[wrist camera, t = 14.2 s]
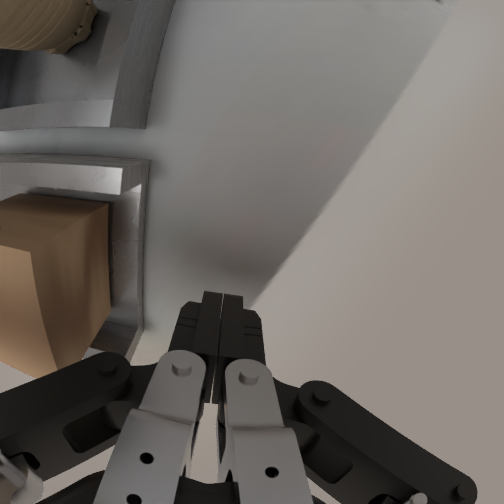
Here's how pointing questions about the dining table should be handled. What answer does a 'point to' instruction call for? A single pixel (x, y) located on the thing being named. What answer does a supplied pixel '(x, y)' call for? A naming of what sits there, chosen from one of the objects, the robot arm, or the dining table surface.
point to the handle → (45, 24)
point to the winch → (88, 72)
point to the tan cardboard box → (51, 280)
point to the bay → (119, 226)
